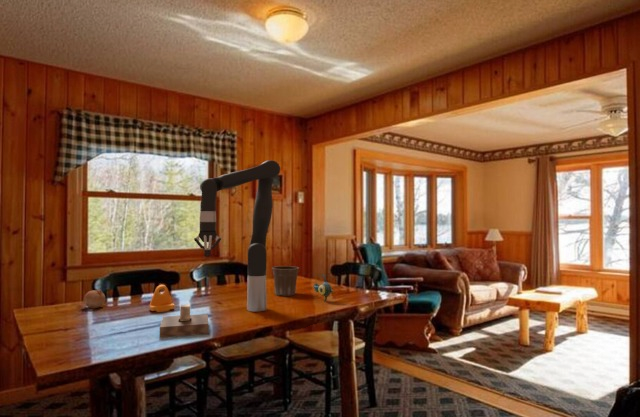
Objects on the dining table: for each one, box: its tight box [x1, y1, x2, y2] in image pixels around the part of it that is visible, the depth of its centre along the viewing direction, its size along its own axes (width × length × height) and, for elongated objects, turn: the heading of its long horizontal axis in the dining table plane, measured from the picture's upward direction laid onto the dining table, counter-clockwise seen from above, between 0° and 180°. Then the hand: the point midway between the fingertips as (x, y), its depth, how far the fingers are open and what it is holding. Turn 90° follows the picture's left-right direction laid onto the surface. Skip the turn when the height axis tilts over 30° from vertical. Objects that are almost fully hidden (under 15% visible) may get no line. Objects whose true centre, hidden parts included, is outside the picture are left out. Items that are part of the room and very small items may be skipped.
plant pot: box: [271, 265, 300, 297], centre depth 236 cm, size 16×16×16 cm
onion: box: [83, 289, 106, 309], centre depth 199 cm, size 10×9×10 cm
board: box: [159, 313, 209, 338], centre depth 161 cm, size 18×16×4 cm
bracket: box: [148, 284, 175, 313], centre depth 195 cm, size 11×7×12 cm, turn 119°
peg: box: [179, 304, 191, 322], centre depth 161 cm, size 4×4×10 cm
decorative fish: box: [313, 273, 334, 302], centre depth 218 cm, size 13×12×6 cm
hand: (207, 257), depth 186 cm, fingers closed
